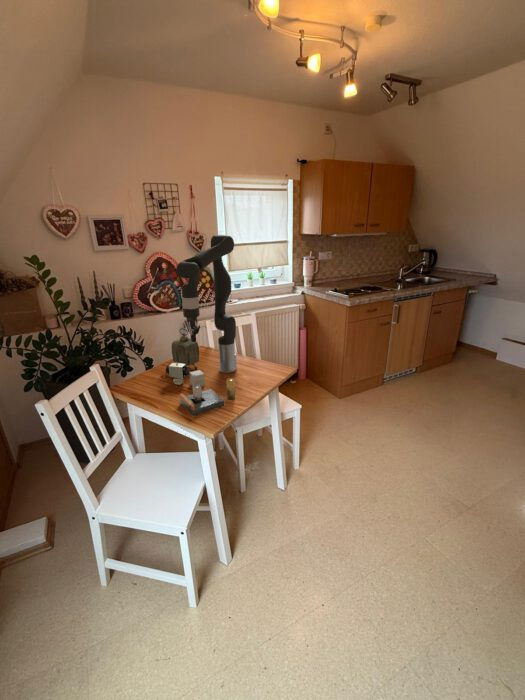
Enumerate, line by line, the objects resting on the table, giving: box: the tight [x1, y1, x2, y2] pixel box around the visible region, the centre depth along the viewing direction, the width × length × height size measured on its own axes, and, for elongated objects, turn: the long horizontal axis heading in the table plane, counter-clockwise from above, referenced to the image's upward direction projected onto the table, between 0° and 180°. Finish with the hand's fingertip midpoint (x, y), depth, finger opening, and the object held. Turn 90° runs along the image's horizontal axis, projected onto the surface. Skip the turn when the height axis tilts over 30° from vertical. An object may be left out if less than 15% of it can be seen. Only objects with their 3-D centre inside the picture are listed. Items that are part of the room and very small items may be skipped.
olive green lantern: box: [171, 327, 200, 370], centre depth 188 cm, size 14×9×25 cm, turn 54°
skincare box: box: [189, 369, 206, 388], centre depth 170 cm, size 6×6×7 cm
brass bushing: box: [225, 377, 236, 402], centre depth 156 cm, size 4×4×10 cm
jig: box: [179, 388, 225, 417], centre depth 152 cm, size 16×14×5 cm
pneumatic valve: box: [165, 362, 191, 386], centre depth 172 cm, size 6×12×12 cm, turn 78°
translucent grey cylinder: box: [192, 385, 203, 404], centre depth 150 cm, size 4×4×10 cm
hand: (193, 341), depth 156 cm, fingers closed
